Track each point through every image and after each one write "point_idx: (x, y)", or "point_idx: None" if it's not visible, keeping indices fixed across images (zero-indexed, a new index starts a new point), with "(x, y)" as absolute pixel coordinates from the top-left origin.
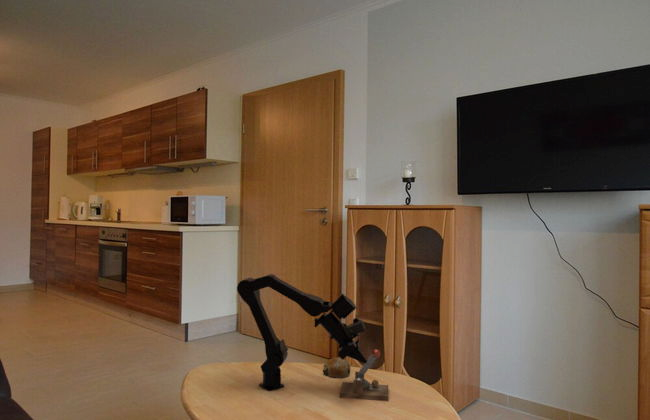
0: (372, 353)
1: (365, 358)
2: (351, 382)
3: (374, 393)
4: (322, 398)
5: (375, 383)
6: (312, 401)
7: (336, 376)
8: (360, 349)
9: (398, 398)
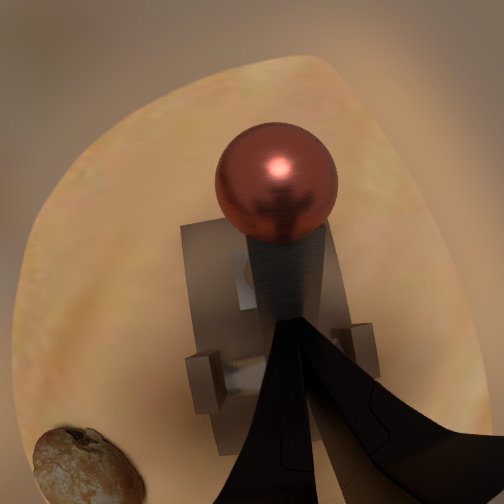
0: (323, 222)
1: (296, 337)
2: (210, 416)
3: None
4: None
5: None
6: None
7: (140, 482)
8: (281, 443)
9: None
